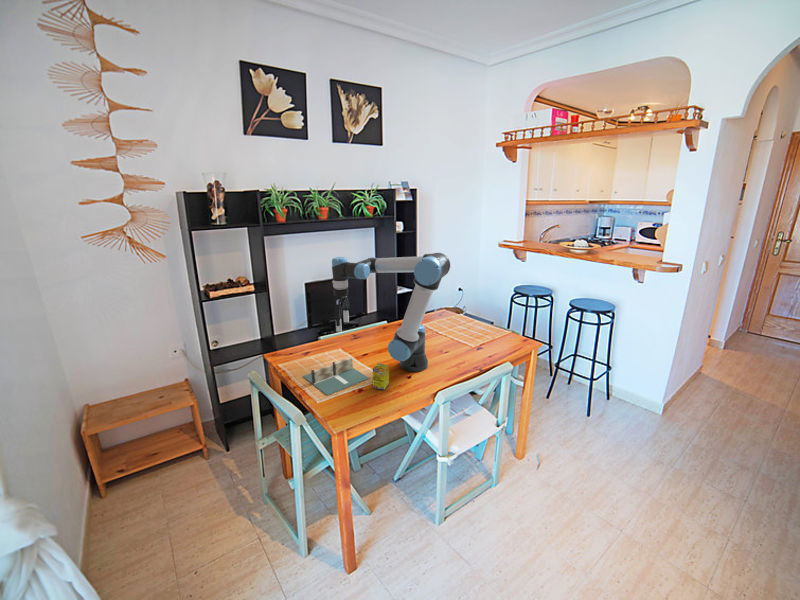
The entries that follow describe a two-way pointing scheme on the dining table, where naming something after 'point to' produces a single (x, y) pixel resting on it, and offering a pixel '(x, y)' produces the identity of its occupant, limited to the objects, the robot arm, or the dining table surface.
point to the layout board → (338, 381)
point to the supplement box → (380, 376)
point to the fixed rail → (322, 374)
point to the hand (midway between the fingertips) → (342, 326)
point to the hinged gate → (342, 366)
